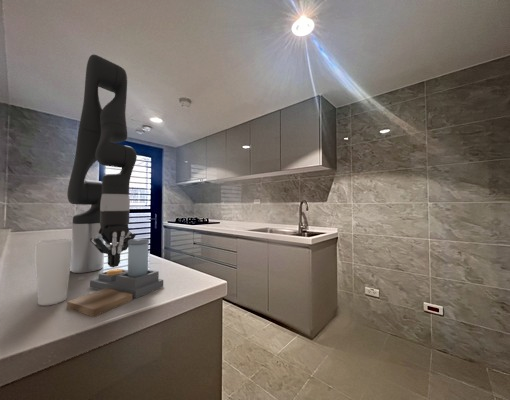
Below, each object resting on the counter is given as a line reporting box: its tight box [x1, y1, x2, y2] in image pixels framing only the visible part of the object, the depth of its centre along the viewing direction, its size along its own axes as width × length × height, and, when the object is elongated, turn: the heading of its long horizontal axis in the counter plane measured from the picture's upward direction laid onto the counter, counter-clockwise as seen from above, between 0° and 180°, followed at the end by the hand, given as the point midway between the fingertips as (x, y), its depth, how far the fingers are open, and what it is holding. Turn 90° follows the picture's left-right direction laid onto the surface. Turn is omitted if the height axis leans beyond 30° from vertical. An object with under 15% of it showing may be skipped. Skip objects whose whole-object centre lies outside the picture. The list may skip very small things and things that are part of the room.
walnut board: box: [66, 288, 133, 318], centre depth 53 cm, size 10×9×2 cm
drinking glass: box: [34, 238, 72, 307], centre depth 54 cm, size 7×7×15 cm
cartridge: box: [127, 238, 150, 278], centre depth 62 cm, size 5×5×12 cm
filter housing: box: [89, 269, 164, 299], centre depth 64 cm, size 19×9×4 cm, turn 67°
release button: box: [106, 268, 122, 275], centre depth 66 cm, size 4×4×2 cm
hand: (113, 266), depth 66 cm, fingers closed
